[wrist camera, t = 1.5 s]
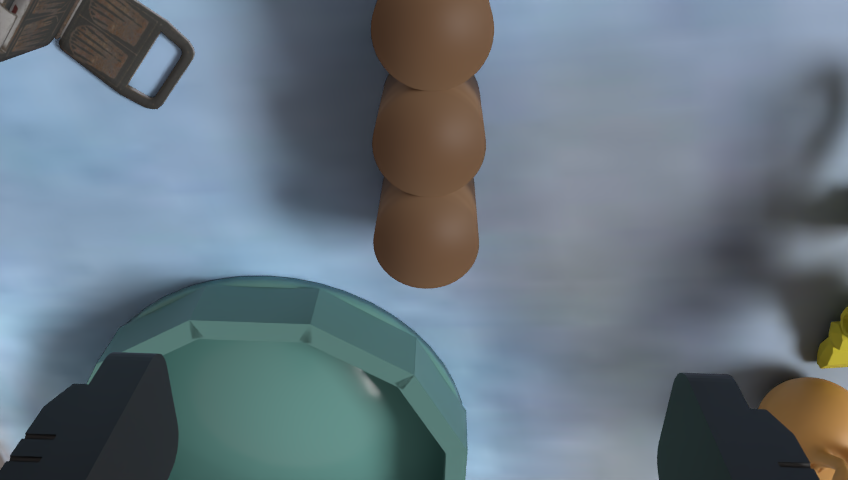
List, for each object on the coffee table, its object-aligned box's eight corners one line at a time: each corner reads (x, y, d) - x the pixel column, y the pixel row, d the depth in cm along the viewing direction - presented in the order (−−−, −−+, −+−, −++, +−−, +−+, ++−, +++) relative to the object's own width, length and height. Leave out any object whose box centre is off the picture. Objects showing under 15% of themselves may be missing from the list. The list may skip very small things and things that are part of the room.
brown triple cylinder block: (381, -59, 22) (370, -35, 18) (489, -56, 22) (498, -32, 18) (383, 225, 27) (373, 286, 23) (471, 228, 27) (475, 290, 23)
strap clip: (-88, -59, 23) (-192, -34, 19) (-50, -146, 21) (-154, -137, 18) (159, 111, 25) (109, 163, 21) (205, 43, 24) (160, 84, 20)
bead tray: (57, 269, 28) (20, 312, 25) (476, 283, 28) (479, 327, 25) (130, 545, 36) (107, 599, 33) (457, 557, 36) (457, 612, 33)
